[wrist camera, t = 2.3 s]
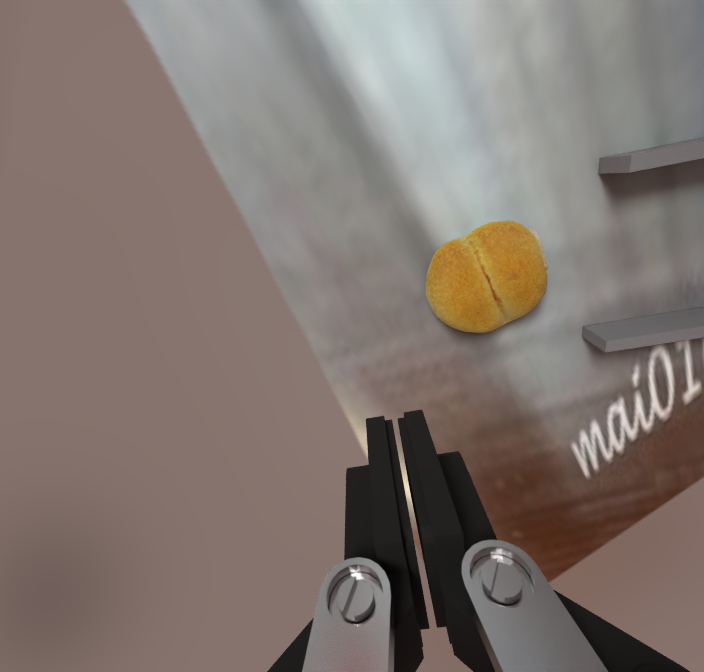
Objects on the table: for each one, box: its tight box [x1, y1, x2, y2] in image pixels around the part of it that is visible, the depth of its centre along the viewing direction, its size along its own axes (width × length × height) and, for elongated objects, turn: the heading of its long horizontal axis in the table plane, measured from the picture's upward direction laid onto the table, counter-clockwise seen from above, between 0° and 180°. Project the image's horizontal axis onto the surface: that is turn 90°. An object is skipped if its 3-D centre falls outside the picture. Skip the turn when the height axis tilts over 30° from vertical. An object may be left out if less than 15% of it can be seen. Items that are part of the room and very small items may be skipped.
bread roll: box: [425, 221, 548, 333], centre depth 26 cm, size 8×9×4 cm
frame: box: [582, 138, 704, 353], centre depth 25 cm, size 14×14×3 cm
